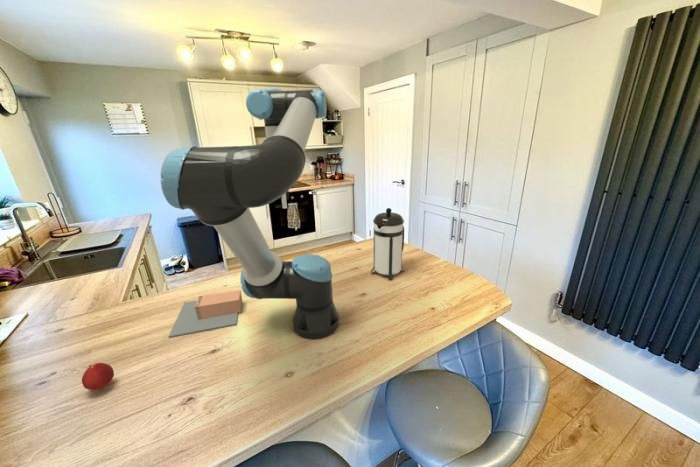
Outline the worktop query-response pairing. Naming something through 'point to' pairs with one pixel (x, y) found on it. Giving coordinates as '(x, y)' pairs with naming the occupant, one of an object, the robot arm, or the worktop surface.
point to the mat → (199, 321)
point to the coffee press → (388, 243)
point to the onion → (97, 376)
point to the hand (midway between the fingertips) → (284, 207)
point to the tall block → (218, 304)
